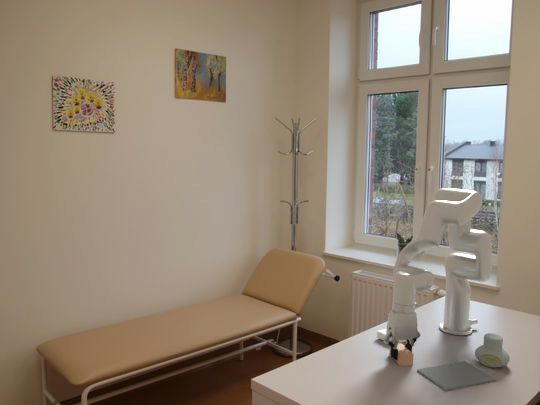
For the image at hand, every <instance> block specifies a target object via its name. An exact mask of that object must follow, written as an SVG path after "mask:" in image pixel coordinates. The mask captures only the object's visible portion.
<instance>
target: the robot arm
mask: <svg viewBox="0 0 540 405" xmlns="http://www.w3.org/2000/svg"><path fill="white" fill-rule="evenodd" d="M482 206H483V196H482V194H481V193H480V192H479V191H476V190H470V189H461V188H450V187H445V188H444V187H441V188H439V189H436V191H435V193H434V200H432V201H430V202H428V204H427V205H426V208H425V211H424V214H423V218H422V220H421V223H420V227H419V230H418V233H417V235H416V237H415V239H412V241H410V242H408V244H407V245H406V246H404V247H403V248H402V250H401V251H399V253H398V256H397V257H396V261H395V264H394V267H393V271H392V279H393V286H392V287H393V290H392V309H390V310H389V313H388V318H387V324H386V328H387V330H386V335H385V337H384V338H383V340H382V341H383V342H384V341H385V342H386V343H388V344H387V345H389V348H390V347H391V353H390V355H391V356H390V355H389V356H390V358H392V359H393V361H395V360H397V358H398V349H397V345H398V342H399V341H401V340H406V341H405V344H404V346H405V347H406V348H407V349H409V350H410V351H411V352H412V353H413V348H414V346H415V343H416V342H417V340H418V339H419V338H420V337H421V333H420V332H419V330H418V316H417V315H418V314H417V311H416V307H418V303H417V302H416V297H417V292H426V291H429V290H430V289H432V287H433V286H434V284H435V275H434V273H433V272H431V271H430V270H429V269H425V268H421V267H420V268H419V267H417V266H412V265H409V263H410V261H411V260H412V259H413V257H415V256H416V255H417V254H419V253H421V252H425V251H428V250H432V249H436V248H438V247H439V246H441V244H442V241H443V237H444V234H445V232H446V228H447V241H448V243H447V244H448V246H449V248H450V249H451V250H452V251H454V252H451V253H449V254H448V255H447V256H446V257H445V259H444V272H445V294H444V295H445V297H444V309H443V310H444V311H443V312H444V313H443V322H440V323H439V326H438V328H439V329H440V330H441V331H442V332H444V333H446V334H450V335H454V336H468V335H470V334H472V333H473V327H471V326H472V325H476V324H478V322H479V321H478V319H477V318H475V319H473V318H472V319H471V318H470V310H471V309H470V308H471V294H472V289H471V285H470V282H469V280H470V281H473V282H474V281H475V282H478V283H485V282H487V281H488V280H490V278H491V275H492V270H493V268H492V266H493V242H492V238H491V235H490V234H489V233H488V232H486V231H485V230H479V229H473V228H472V218H473V217H474V216H476V215H477V214H478V213H479V212H480V210H481V209H482ZM455 251H456V252H455ZM390 337H391V341H390V340H389V339H390ZM394 341H395V342H394ZM386 343H385V344H386Z"/></svg>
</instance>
